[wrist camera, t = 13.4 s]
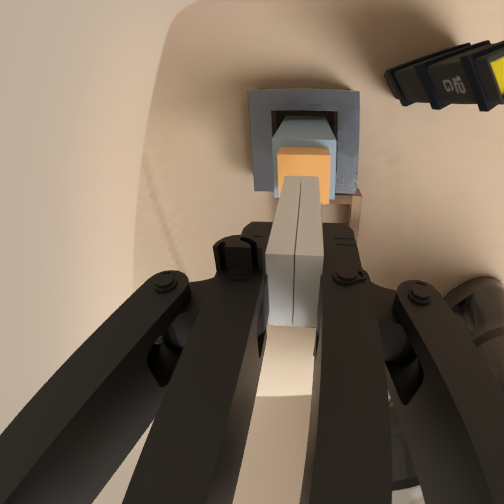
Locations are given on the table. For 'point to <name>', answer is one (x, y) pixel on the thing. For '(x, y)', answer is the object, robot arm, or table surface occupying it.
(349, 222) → the brown square frame
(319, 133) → the plug
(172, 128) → the table surface
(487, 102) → the magazine
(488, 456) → the robot arm
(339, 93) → the port
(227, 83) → the table surface
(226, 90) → the table surface
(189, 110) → the table surface
